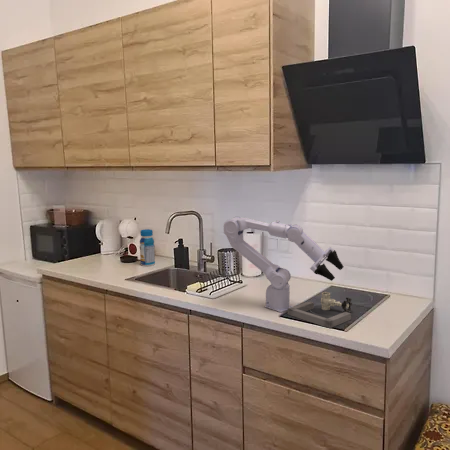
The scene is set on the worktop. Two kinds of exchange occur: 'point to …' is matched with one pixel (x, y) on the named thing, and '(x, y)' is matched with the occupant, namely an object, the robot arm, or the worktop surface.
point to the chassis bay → (301, 313)
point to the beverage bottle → (147, 248)
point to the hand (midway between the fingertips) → (337, 273)
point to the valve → (334, 302)
